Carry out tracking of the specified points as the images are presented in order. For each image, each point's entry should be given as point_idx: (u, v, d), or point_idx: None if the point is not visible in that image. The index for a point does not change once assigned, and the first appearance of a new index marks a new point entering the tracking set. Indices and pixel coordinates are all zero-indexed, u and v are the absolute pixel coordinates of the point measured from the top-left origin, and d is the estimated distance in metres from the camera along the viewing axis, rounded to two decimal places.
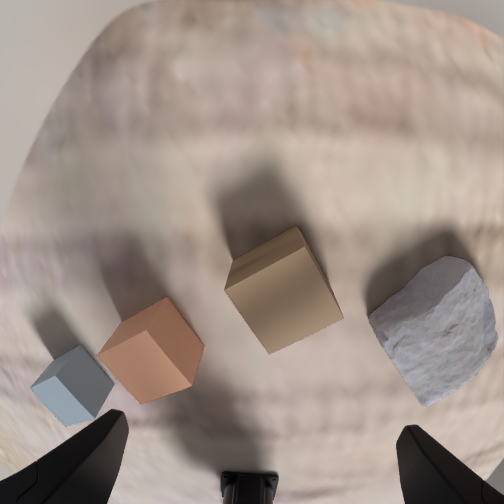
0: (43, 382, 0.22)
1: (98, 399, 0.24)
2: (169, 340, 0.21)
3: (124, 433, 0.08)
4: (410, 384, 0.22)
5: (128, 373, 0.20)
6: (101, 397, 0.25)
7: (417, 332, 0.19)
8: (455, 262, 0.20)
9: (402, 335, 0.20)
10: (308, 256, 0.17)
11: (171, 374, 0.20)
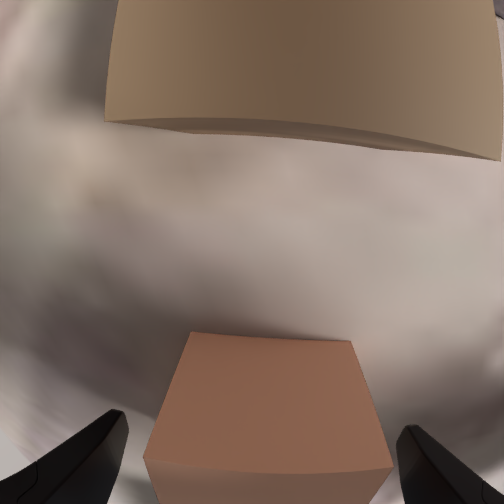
0: None
1: None
2: (241, 422, 0.06)
3: (124, 433, 0.08)
4: None
5: None
6: None
7: None
8: None
9: None
10: None
11: (320, 489, 0.05)
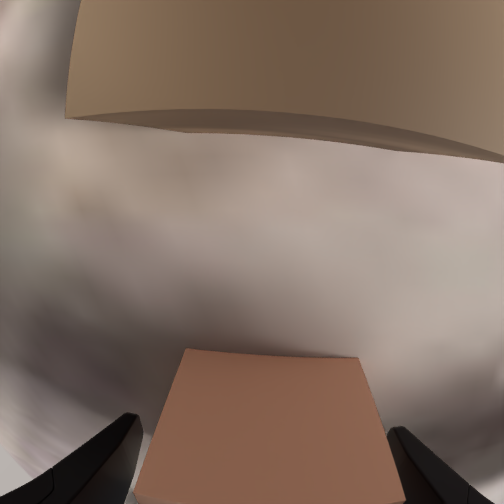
0: None
1: None
2: (241, 454, 0.05)
3: (139, 436, 0.08)
4: None
5: None
6: None
7: None
8: None
9: None
10: None
11: None
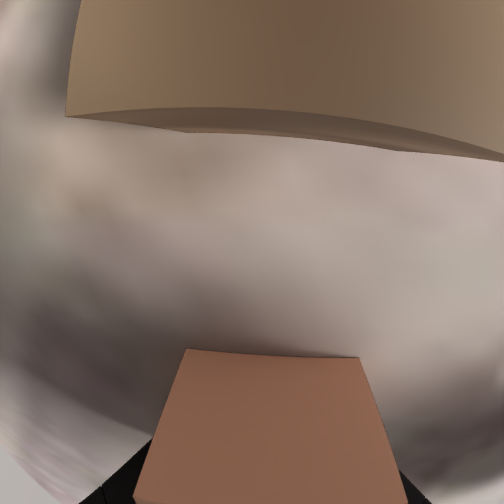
0: None
1: None
2: (241, 457, 0.05)
3: None
4: None
5: None
6: None
7: None
8: None
9: None
10: None
11: None
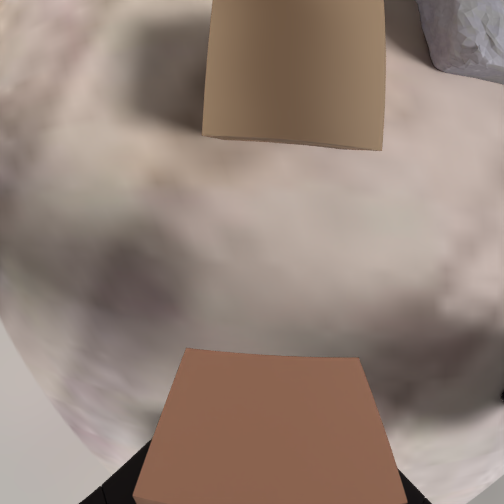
0: None
1: None
2: (241, 456, 0.05)
3: None
4: None
5: None
6: None
7: (484, 3, 0.07)
8: None
9: (479, 23, 0.07)
10: None
11: None
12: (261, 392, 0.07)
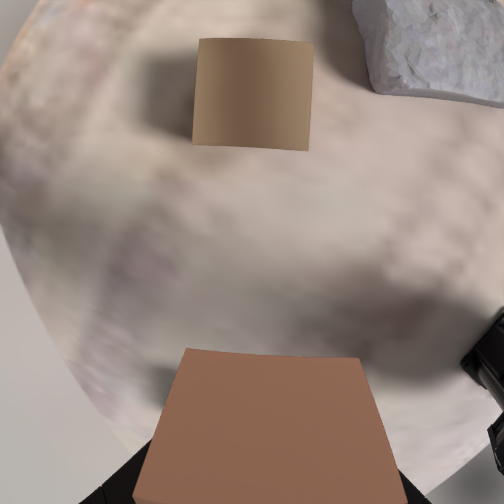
0: None
1: None
2: (241, 457, 0.05)
3: None
4: (484, 96, 0.13)
5: None
6: None
7: (408, 39, 0.12)
8: None
9: (402, 56, 0.13)
10: (212, 40, 0.12)
11: None
12: (261, 392, 0.07)
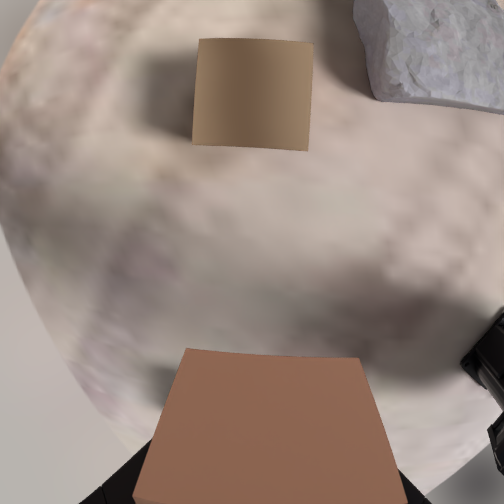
0: None
1: None
2: (241, 456, 0.05)
3: None
4: (484, 104, 0.14)
5: None
6: None
7: (409, 46, 0.12)
8: None
9: (404, 64, 0.13)
10: (212, 40, 0.12)
11: None
12: (261, 392, 0.07)
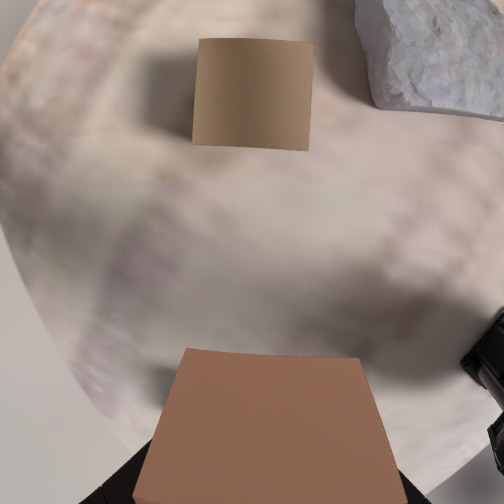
0: None
1: None
2: (241, 456, 0.05)
3: None
4: (485, 112, 0.14)
5: None
6: None
7: (411, 55, 0.12)
8: None
9: (405, 74, 0.13)
10: (212, 40, 0.12)
11: None
12: (261, 392, 0.07)
